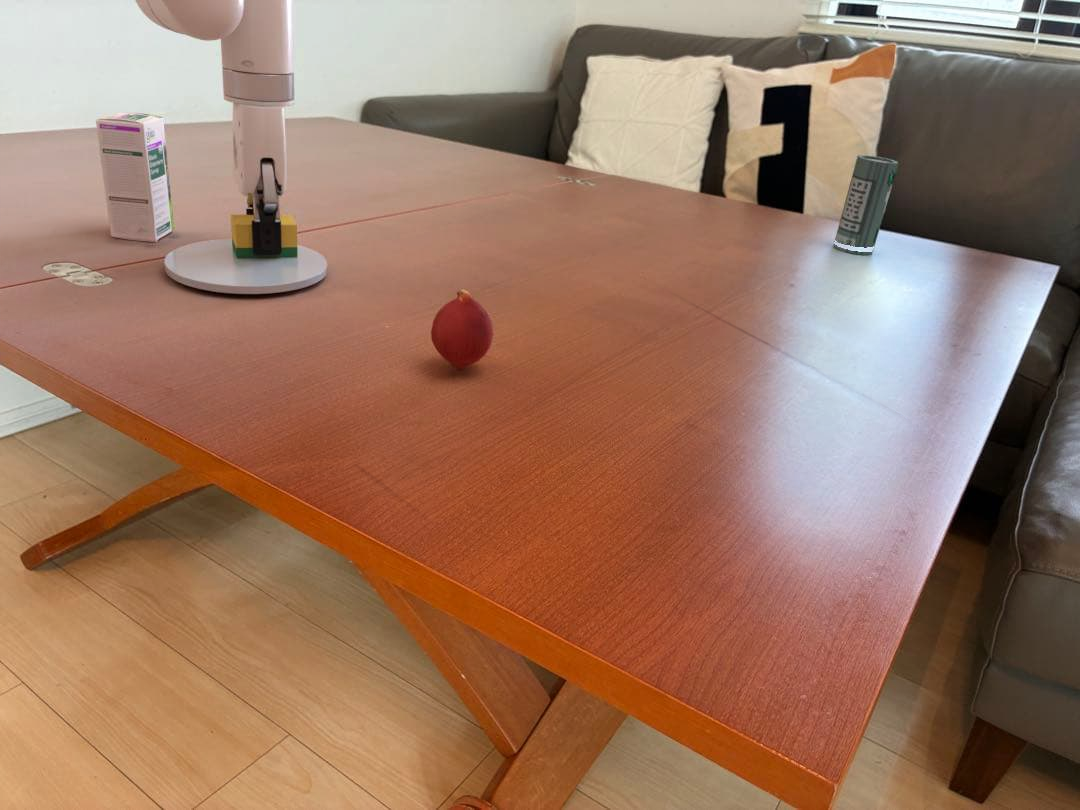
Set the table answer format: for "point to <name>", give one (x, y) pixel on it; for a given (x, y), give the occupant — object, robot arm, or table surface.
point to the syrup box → (135, 176)
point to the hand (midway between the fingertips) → (264, 246)
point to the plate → (242, 269)
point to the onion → (462, 331)
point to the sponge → (243, 237)
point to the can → (866, 202)
